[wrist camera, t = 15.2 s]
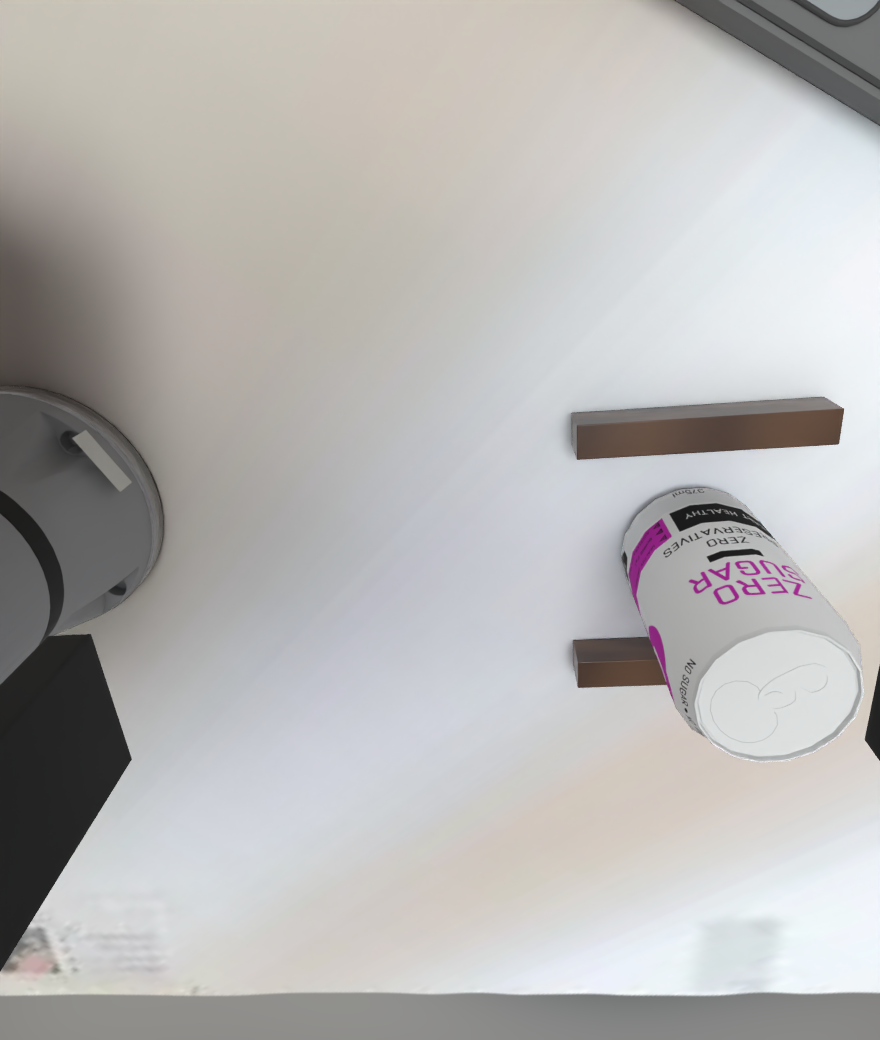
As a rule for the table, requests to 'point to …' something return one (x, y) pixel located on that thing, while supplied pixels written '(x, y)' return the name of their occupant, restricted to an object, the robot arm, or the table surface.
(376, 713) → the table surface
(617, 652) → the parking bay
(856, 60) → the laptop
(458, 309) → the table surface
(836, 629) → the supplement can
